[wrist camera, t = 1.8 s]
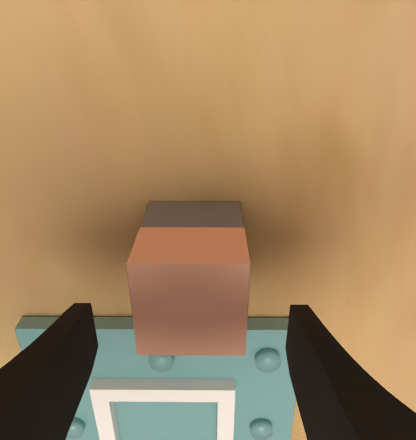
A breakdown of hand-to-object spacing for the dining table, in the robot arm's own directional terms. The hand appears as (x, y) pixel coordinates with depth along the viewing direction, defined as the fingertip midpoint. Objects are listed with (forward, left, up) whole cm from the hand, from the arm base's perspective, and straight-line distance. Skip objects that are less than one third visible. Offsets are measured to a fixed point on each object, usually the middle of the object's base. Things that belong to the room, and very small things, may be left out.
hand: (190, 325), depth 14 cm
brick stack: (0, 0, -6) cm, 6 cm away
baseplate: (-2, -13, -6) cm, 15 cm away
